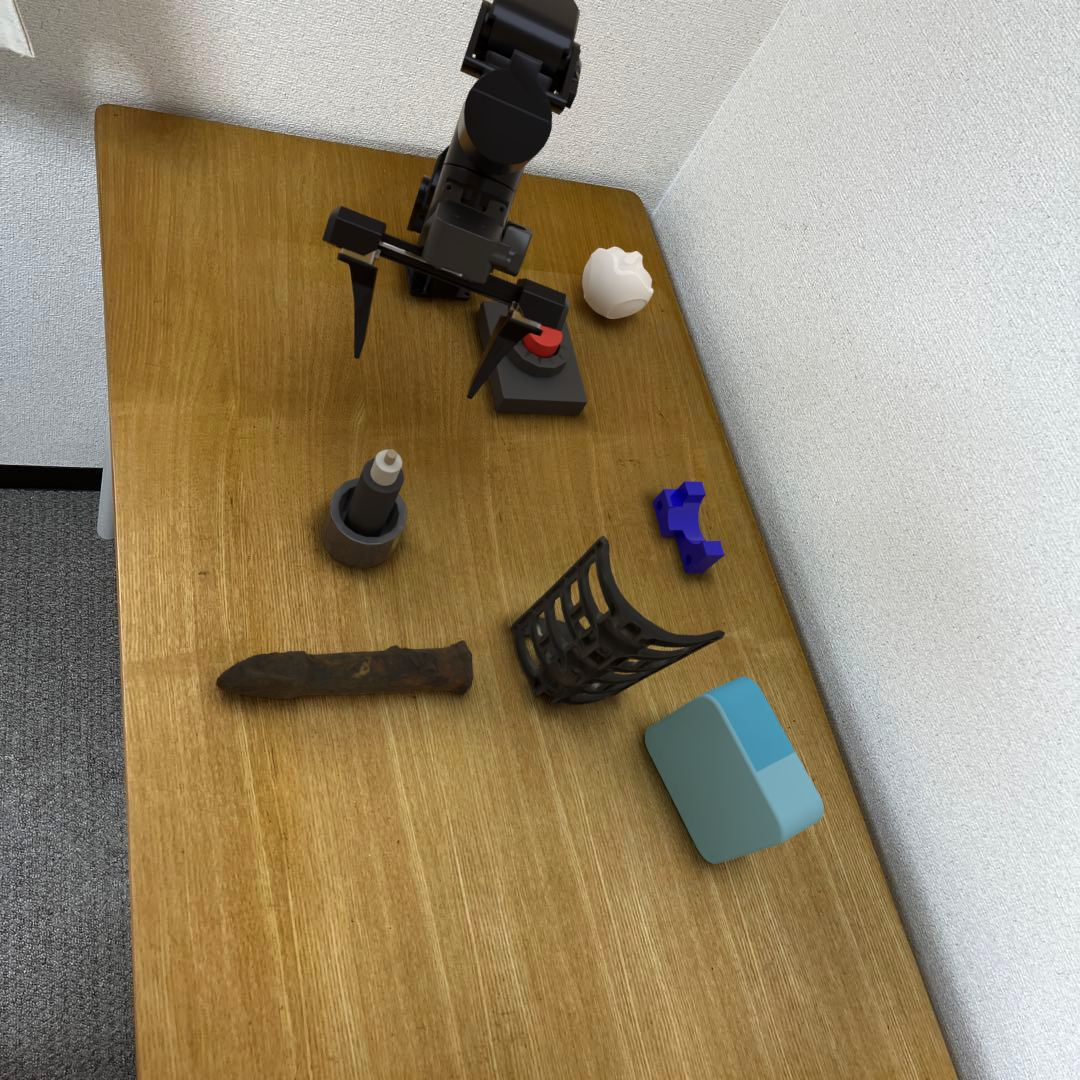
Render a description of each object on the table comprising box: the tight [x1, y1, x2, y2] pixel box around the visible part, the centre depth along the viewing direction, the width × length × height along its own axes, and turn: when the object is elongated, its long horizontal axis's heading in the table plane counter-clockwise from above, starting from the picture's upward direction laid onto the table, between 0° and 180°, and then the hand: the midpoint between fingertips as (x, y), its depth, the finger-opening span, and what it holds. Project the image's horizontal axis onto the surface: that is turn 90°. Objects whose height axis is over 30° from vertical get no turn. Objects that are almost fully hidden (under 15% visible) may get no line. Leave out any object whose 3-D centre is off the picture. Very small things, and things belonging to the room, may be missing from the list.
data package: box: [644, 676, 825, 865], centre depth 71 cm, size 12×4×12 cm, turn 27°
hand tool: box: [215, 639, 474, 700], centre depth 68 cm, size 19×4×5 cm, turn 98°
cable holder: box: [651, 480, 725, 575], centre depth 87 cm, size 8×4×4 cm, turn 12°
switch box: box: [475, 300, 589, 416], centre depth 90 cm, size 12×9×4 cm
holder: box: [509, 535, 726, 707], centre depth 69 cm, size 11×8×20 cm
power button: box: [522, 325, 562, 357], centre depth 88 cm, size 4×4×2 cm
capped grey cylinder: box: [344, 448, 405, 537], centre depth 71 cm, size 3×3×12 cm
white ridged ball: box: [581, 246, 654, 320], centre depth 97 cm, size 8×8×8 cm
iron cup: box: [321, 476, 408, 569], centre depth 74 cm, size 6×6×4 cm
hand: (413, 378), depth 70 cm, fingers open, 9 cm apart
